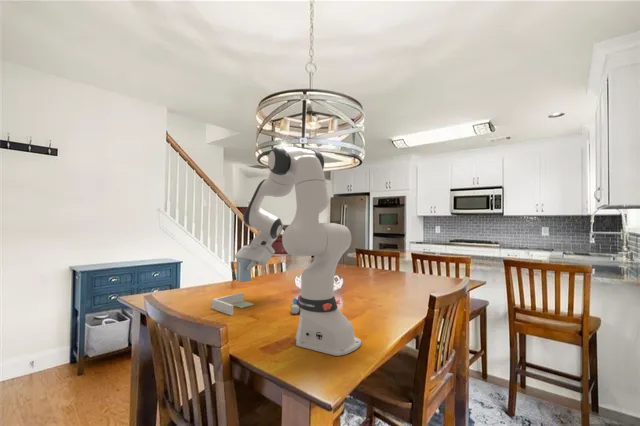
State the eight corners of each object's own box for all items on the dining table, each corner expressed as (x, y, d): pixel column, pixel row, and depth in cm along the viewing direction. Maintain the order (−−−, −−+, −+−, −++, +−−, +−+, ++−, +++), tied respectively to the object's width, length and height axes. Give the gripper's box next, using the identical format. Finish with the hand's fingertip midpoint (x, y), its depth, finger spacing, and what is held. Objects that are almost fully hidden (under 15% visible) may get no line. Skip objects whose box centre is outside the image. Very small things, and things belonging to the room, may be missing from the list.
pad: (254, 304, 146) (254, 304, 146) (241, 308, 140) (241, 307, 140) (244, 301, 150) (244, 301, 150) (232, 304, 145) (232, 304, 145)
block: (250, 280, 146) (251, 259, 145) (242, 282, 142) (242, 261, 142) (244, 279, 148) (244, 258, 148) (236, 280, 145) (236, 259, 145)
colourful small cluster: (310, 316, 131) (310, 298, 131) (287, 314, 133) (287, 297, 133) (314, 310, 139) (314, 293, 139) (293, 308, 141) (293, 292, 141)
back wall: (243, 301, 151) (243, 292, 151) (213, 308, 138) (213, 299, 138) (242, 300, 151) (242, 292, 151) (211, 308, 139) (211, 299, 139)
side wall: (233, 314, 131) (233, 305, 131) (230, 315, 130) (231, 305, 130) (215, 308, 139) (215, 299, 139) (213, 308, 138) (213, 299, 138)
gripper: (242, 240, 157) (225, 262, 150) (270, 243, 144) (252, 267, 137) (249, 248, 161) (233, 270, 153) (277, 252, 147) (260, 276, 140)
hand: (242, 269), depth 145 cm, fingers closed on block, 4 cm apart
